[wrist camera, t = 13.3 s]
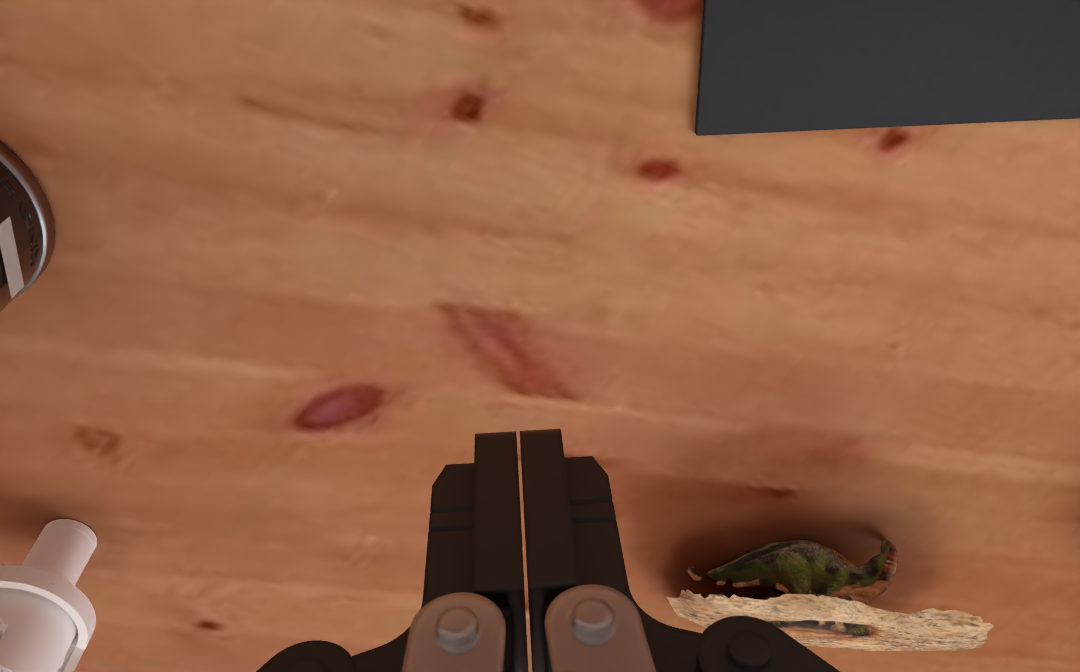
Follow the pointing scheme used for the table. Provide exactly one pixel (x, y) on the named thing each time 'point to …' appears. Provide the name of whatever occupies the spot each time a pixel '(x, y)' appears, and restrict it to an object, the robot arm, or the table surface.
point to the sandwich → (828, 601)
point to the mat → (885, 63)
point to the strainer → (47, 602)
